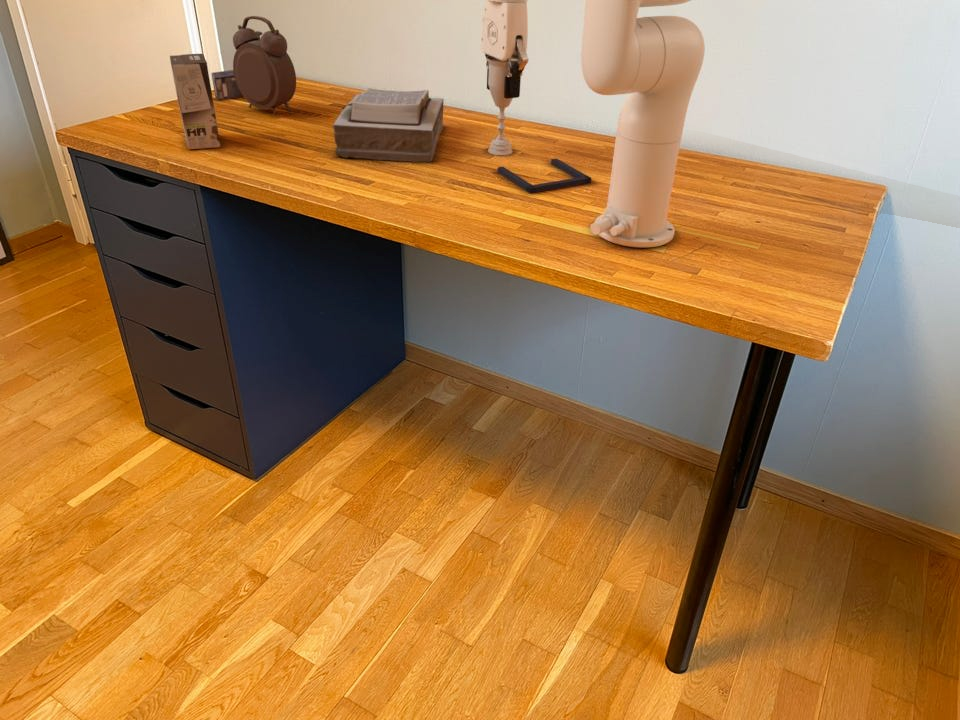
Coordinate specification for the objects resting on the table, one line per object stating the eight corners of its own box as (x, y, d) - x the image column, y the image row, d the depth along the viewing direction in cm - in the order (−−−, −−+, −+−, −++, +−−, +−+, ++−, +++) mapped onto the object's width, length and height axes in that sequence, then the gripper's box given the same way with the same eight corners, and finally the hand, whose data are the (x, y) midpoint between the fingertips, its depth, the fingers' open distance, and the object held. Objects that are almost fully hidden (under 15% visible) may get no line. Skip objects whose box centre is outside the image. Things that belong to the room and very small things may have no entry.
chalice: (513, 158, 146) (519, 63, 136) (480, 155, 147) (483, 60, 137) (519, 147, 152) (524, 55, 142) (487, 144, 153) (490, 52, 143)
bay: (591, 183, 136) (591, 177, 135) (529, 193, 130) (530, 188, 130) (555, 163, 144) (556, 158, 144) (497, 172, 139) (497, 167, 138)
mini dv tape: (218, 100, 176) (213, 74, 172) (215, 98, 177) (211, 72, 173) (250, 95, 180) (246, 69, 177) (247, 94, 181) (243, 68, 178)
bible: (313, 155, 144) (308, 104, 139) (363, 118, 166) (360, 73, 160) (426, 168, 140) (426, 115, 134) (463, 128, 162) (463, 82, 156)
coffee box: (221, 147, 147) (207, 62, 138) (187, 150, 145) (170, 64, 136) (217, 134, 154) (203, 52, 145) (185, 136, 152) (168, 54, 143)
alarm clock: (304, 112, 169) (294, 18, 158) (281, 119, 164) (270, 22, 153) (259, 102, 175) (247, 10, 164) (236, 108, 170) (221, 14, 159)
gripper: (467, -15, 138) (465, 84, 148) (513, -1, 125) (507, 106, 135) (502, -16, 141) (498, 81, 151) (550, -3, 128) (542, 102, 138)
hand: (502, 92), depth 143 cm, fingers closed on chalice, 6 cm apart
